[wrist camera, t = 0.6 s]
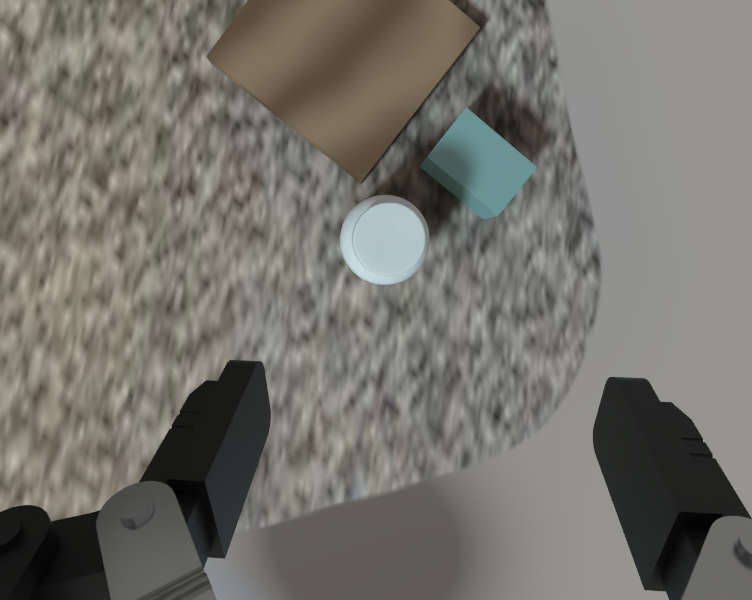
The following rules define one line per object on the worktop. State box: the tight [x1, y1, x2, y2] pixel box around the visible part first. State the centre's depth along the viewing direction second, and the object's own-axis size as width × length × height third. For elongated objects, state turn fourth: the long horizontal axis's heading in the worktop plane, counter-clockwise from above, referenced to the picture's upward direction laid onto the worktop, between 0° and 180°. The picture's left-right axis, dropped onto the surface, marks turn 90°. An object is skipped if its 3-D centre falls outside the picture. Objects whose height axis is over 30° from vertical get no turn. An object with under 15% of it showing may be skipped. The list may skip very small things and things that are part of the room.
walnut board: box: [207, 0, 480, 184], centre depth 36 cm, size 13×13×2 cm
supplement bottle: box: [340, 195, 430, 285], centre depth 33 cm, size 5×5×10 cm
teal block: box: [419, 107, 537, 219], centre depth 36 cm, size 6×4×4 cm, turn 52°
